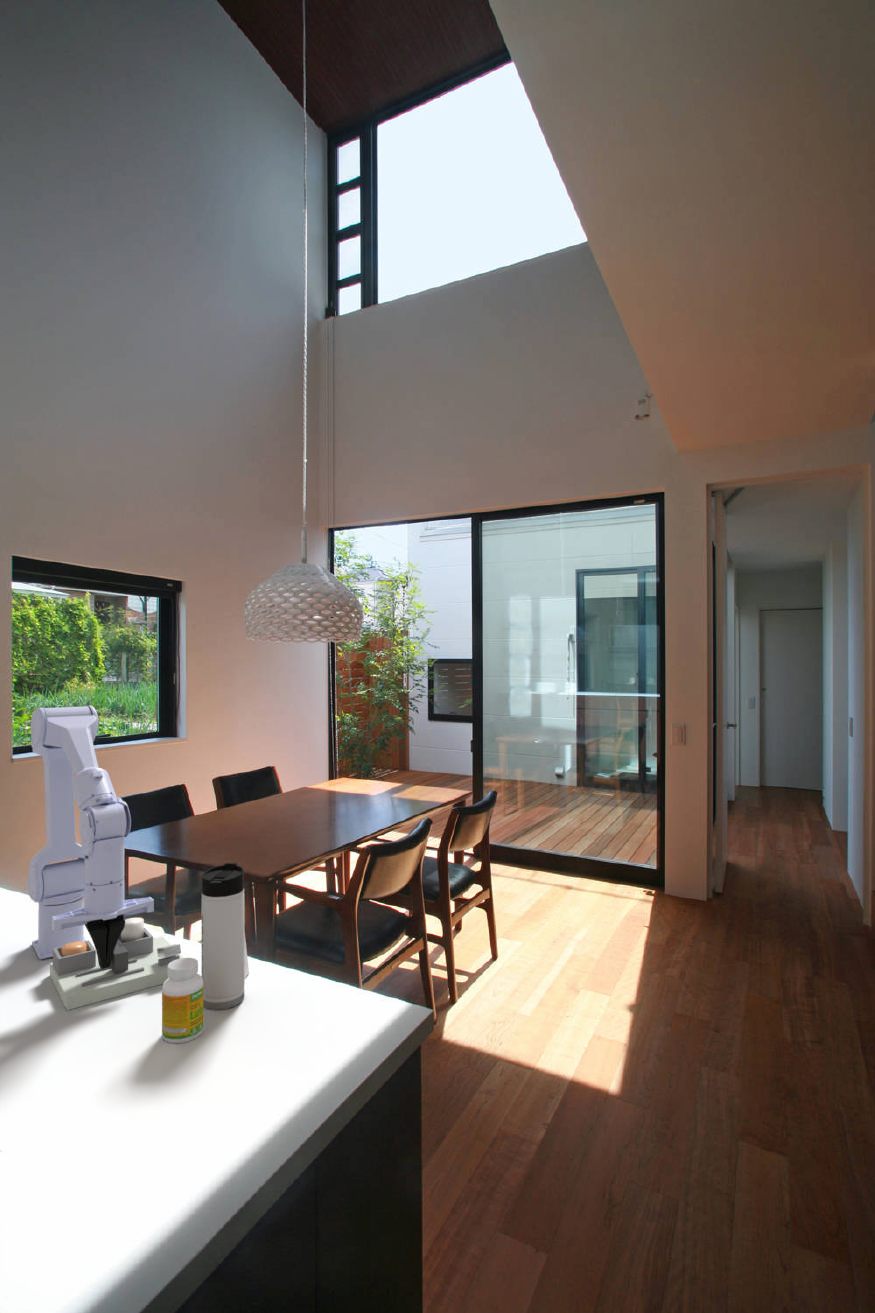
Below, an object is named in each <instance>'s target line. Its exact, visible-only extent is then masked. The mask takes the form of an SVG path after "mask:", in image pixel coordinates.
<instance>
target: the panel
mask: <svg viewBox="0 0 875 1313" xmlns="http://www.w3.org/2000/svg"><path fill="white" fill-rule="evenodd" d="M83 942H86V952H82V953H78V954H74V955H69V956H65V957H62V947H63V946H61V947H57V948H53V957H52V962H50V963H49V976H50V978H51V980H52V983H53V985H54V987H55V989H56V991H57V993H58V996H59V998H60V1000H61V1002H62V1004H63V1006H64V1008H65V1010H66V1011H70V1010H73V1009H77V1008H81V1007H84V1006H87V1005H88V1006H89V1005H91V1004H95V1003H98V1002H101V1001H106V1000H109V999H113V998H116V997H120V996H124V995H127V994H132V993H133V992H138V991H141V990H145V989H149V988H151V987H156V986H159V985H163V984H164V982H165V981H166V980H167V979H168V975H167V968H168V964H169V963H170V962H172V961H174V960H177V959H181V958H184V957H183V956H182V955H181V953H180V954H176V955H172V956H168V957H158V953H157V948H161V947H165V946H169V945H171V944H170V942H168V941H167V940H166V938H164V936H159V937H154V936H153V935H152V934H151V933H150V932H149V931H148V930H147V929H146V927H144V938H141V939H137V940H133V941H129V942H125V943H123V942H121V935H120V937H119V939H118V941H117V943H116V946H115V948H118V947H122V946H124V947H125V948H126V949H127V951H128V971H124V972H120V973H116V974H115V973H114V972H113V971H112V969H111V966H110V967H108V968H104V969H101V968H100V966H99V962H98V956H97V952H96V949H95V946H94V945H93V944H92V942H91V941H90V940H86V941H83Z"/></svg>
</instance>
